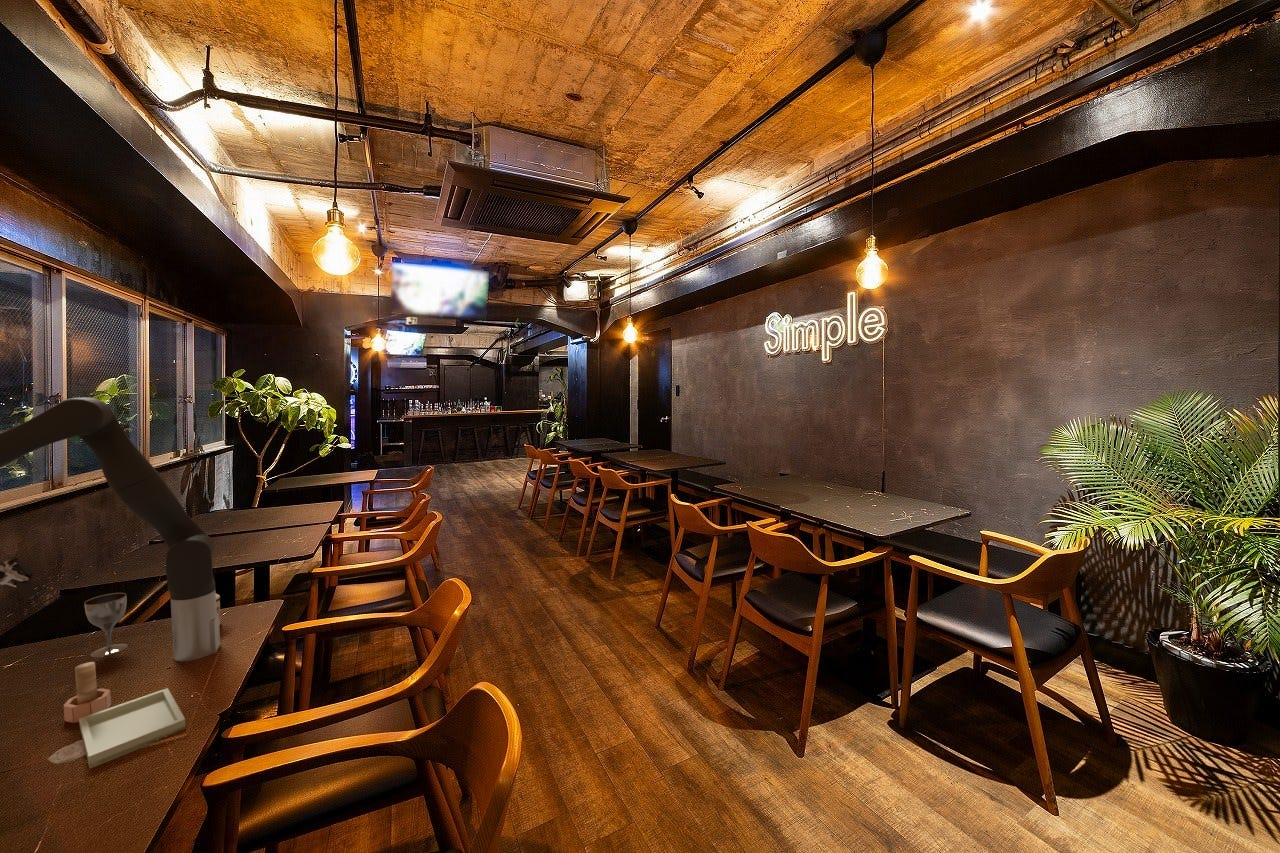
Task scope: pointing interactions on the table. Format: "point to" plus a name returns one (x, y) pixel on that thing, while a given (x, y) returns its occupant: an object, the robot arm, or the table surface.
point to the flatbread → (68, 753)
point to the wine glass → (106, 618)
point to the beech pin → (86, 682)
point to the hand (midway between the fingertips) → (10, 604)
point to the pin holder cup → (86, 706)
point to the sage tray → (130, 726)
